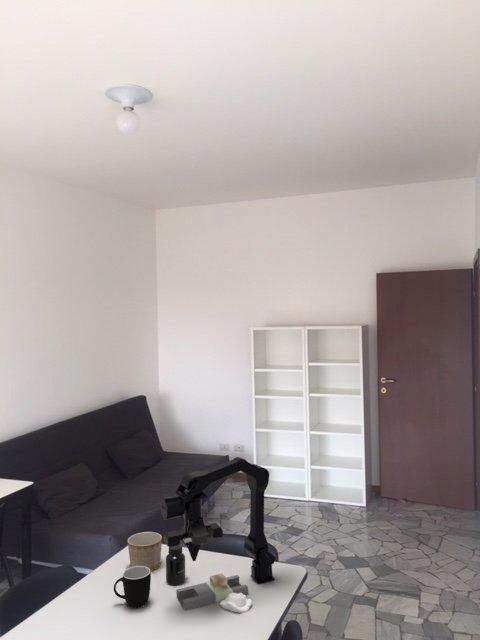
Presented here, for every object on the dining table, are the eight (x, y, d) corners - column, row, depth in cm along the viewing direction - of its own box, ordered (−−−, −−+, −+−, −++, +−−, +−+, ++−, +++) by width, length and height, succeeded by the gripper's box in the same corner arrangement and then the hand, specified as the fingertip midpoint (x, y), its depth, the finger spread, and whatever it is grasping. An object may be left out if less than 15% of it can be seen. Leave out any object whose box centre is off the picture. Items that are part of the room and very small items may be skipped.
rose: (222, 602, 164) (217, 587, 173) (222, 617, 164) (218, 600, 173) (254, 598, 165) (247, 583, 175) (254, 612, 165) (248, 597, 175)
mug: (152, 595, 177) (151, 565, 177) (150, 609, 168) (149, 578, 168) (116, 597, 176) (115, 567, 176) (111, 612, 167) (110, 580, 167)
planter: (159, 574, 192) (158, 545, 192) (124, 574, 192) (124, 546, 192) (165, 558, 204) (164, 531, 204) (132, 559, 205) (131, 532, 205)
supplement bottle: (182, 586, 182) (181, 551, 182) (163, 585, 184) (162, 550, 184) (188, 577, 189) (187, 543, 189) (170, 575, 190) (169, 542, 190)
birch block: (222, 582, 180) (222, 573, 180) (227, 588, 176) (227, 579, 176) (210, 585, 178) (209, 576, 178) (214, 591, 174) (214, 582, 174)
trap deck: (237, 582, 184) (237, 574, 184) (248, 594, 176) (247, 586, 176) (176, 597, 176) (176, 589, 176) (184, 610, 167) (184, 602, 167)
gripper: (172, 526, 162) (173, 577, 162) (228, 516, 170) (229, 565, 170) (162, 514, 172) (163, 562, 172) (216, 505, 180) (217, 551, 180)
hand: (193, 560), depth 173 cm, fingers closed
